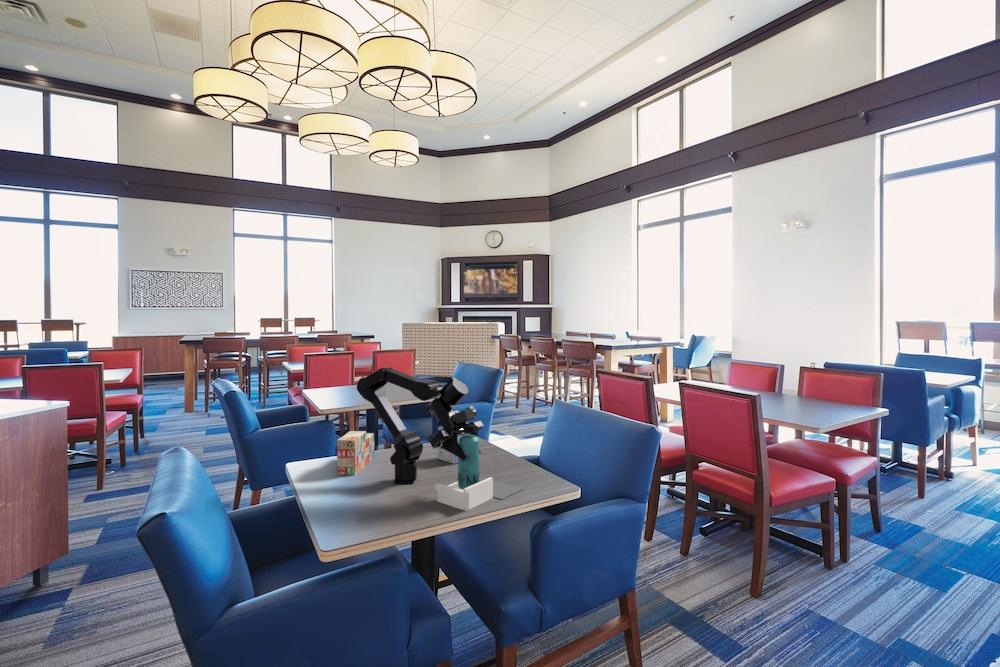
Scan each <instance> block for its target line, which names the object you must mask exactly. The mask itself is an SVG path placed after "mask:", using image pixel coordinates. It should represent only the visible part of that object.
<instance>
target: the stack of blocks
mask: <svg viewBox="0 0 1000 667" xmlns="http://www.w3.org/2000/svg"><path fill="white" fill-rule="evenodd" d="M336 447H337V448H336V449H337V450H336V457H337V458H336V460H337V461H336V463H337V464H336V466H337V467H336V473H337V476H356V475H357V474H358V473H359V472H360V471H362V470H363V468H365V467H366V465H367V464H369V462H371V461H372V460H373V459H374V458H375V433H374V432H372V433H370V432H367V431H366V430H359V431H358V430H350V431H348V432H346V433H345V434H344V435H342V436H341V437H340V438H337V440H336Z"/></svg>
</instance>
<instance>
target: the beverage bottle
mask: <svg viewBox="0 0 1000 667" xmlns="http://www.w3.org/2000/svg"><path fill="white" fill-rule="evenodd" d="M476 432H477V430H476V425H474V424H469V423H467V424H465V425H463V433H476ZM480 441H481V439H480V438H479V437H478V435H477V436H475V435H463V436H462V437H461V438H460V439H459V445H460V447H461V449H462V450H463V452H464V454H465V456H466V459H465V460H462V459H460V458H458V459H459V463H457V465H458V466H457V469H458V470H457V482H458V487H459V488H460V489H463V491H464V488H467V487H469V486H471V485H474V484H476V483H478V482H479V477H481V476H480V455H479V448H480Z"/></svg>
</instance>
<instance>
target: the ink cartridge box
mask: <svg viewBox="0 0 1000 667" xmlns="http://www.w3.org/2000/svg"><path fill="white" fill-rule="evenodd" d="M442 429H443V427H442V426H440V427H439V426H438V428H437V431H438V430H442ZM462 436H463V435H461V436H457V440H458V443H459V439H460V438H461V437H462ZM440 442H441V441H440ZM441 446H442V442H441ZM441 446H440V447H441ZM440 447H438V448H437V459H438V460H440V461H444V462H447V463H451V464H454V465H455V464H458V463H459V459H458V458H459V457H457V456H455V455H454V454H452V453H450V452H449V451H447V450H445V449H441V448H440Z"/></svg>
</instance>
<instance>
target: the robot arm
mask: <svg viewBox="0 0 1000 667" xmlns="http://www.w3.org/2000/svg"><path fill="white" fill-rule="evenodd" d="M388 383H390V384H393V385H395V386H398V387H400V388H402V389H405V390H407V391H409V392H410V393H412V395H413V396H414V397H415V398H416V399H418V400H420V401H422V402H426V401H430V400H432V401H431V402H427V403H426V407H425V410H424V411H425V413H430V412H432V413H433V415H434V416H435V418H436V419H437V421H438V423H437V426H438V428H439V427H443V429H442V430H438V429H437V431H436V433H435V434H433V436H432V437H431V438H430V442H429V443H430V445H431V447H432V449H433V450H434V449H438V447H440V446H441V442H442V446H441V447H440V448H441V449H445V450H447V451H449V452H450V453H452V454H454V455H455V456H457V457H459V458H460V459H462V460H465V459H466V456H465V454H464V452H463V450H462V449H461V447H460V445H459V443H458V440H457V436H461V435H475V436H477V437H478V435H479V434H478V433H479V432H480V431H481V430H482V429H483V428H484V427H485V425H484V424H483V422H482V421H481V420H479V419H477V420H475V419H476V416H477V415H478V413H477V412H478V411H477V409H476V408H475V407H474V406H473V405H470V406H468V407H466V408H465V409H464V410H461V411H459V410H454V408H453V406H456V405H457V404H459V402H460V401H461V400H463V399H464V397H465V396H466V395H468V393H469V388H468V386H467V384H466V383H464V382H462V381H460V380H458V379H457V378H456V377H450V378H449V379H448V381H447V382H446V383H445V385H443V384H441V383H440V382H439V381H438V380H433V379H429V378H428V379H426V378H425V379H424V378H417V377H415V376H412V375H409V374H407V373H404V372H401V371H398V370H396V369H394V368H393V367H390V366H387V367H381V368H379V369H377V370H376V371H374V372H373V373H370V374H368V375H366V376H364V377H361V378H359V379H358V380H357V383H356V384H357V385H356V390H357V392H358V393H359V395H360V396H361V397H362V398H363V399H364V400H365V401H367V402H369V403H371V404H372V405H373V407H374V408H375V411H376V412H377V414H378V416H379V417H380V419H381V420H382V421H383V423H384V425H385V426H386V428H387V430H388V431H389V433H390V434H391V436H392V437H393V448H394V451H395V452H394V453H393V454H392V455H391V456H390V457H389V460H390V464H391V465H393V466H394V480H393V484H407V485H410V484H411V485H412V484H414V483H415V482H416V480H417V479H418V465H417V460H420V457H421V455H422V454H423V449H424V444H423V439H422V438H420V436H419V434H418V432H417V431H416V430H413V431H410V430H408V429H407V428H406V426H405V424H404V423H403V421H402V420H401V418H400V417H399V415H398V414H397V412H396V410H395V409H394V408H393V406H392V404H391V402H390V401H389V399H388V398H387V396H386V387H385V386H386V385H388ZM472 420H473V421H472ZM469 421H470V422H469ZM468 422H469V423H468ZM465 424H474V425H476V430H477V432H476V433H463V425H465ZM440 441H441V442H440ZM481 454H482V453H481V449H480V448H479V456H480V455H481Z"/></svg>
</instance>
